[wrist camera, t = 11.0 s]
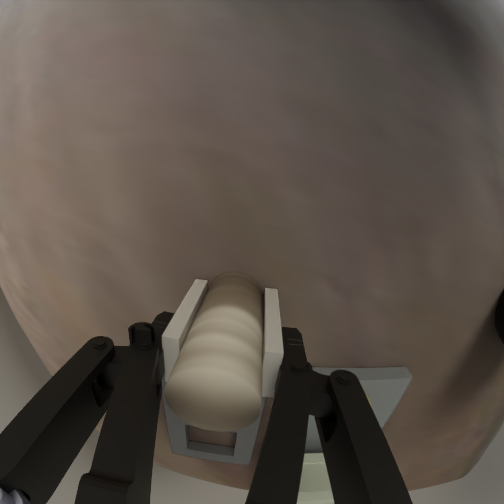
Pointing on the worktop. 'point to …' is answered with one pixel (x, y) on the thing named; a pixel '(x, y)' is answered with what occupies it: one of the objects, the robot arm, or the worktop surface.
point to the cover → (314, 481)
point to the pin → (221, 359)
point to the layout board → (368, 395)
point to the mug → (500, 318)
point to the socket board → (209, 451)
